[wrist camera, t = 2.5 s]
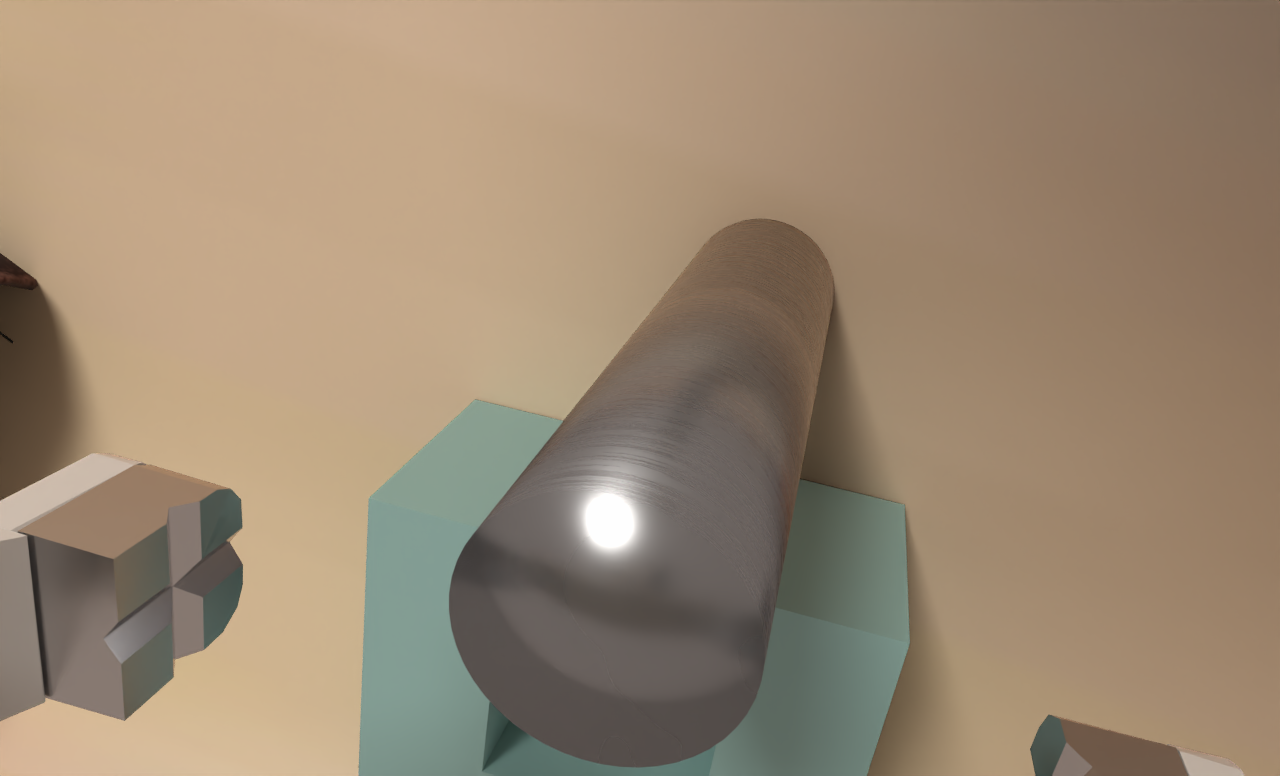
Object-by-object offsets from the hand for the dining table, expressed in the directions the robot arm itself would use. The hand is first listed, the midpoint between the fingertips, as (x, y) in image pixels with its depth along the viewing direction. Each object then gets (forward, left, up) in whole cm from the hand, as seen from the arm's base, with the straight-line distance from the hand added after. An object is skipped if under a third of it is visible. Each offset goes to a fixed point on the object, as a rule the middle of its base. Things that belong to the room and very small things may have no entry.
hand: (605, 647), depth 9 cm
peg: (-1, 0, -12) cm, 12 cm away
